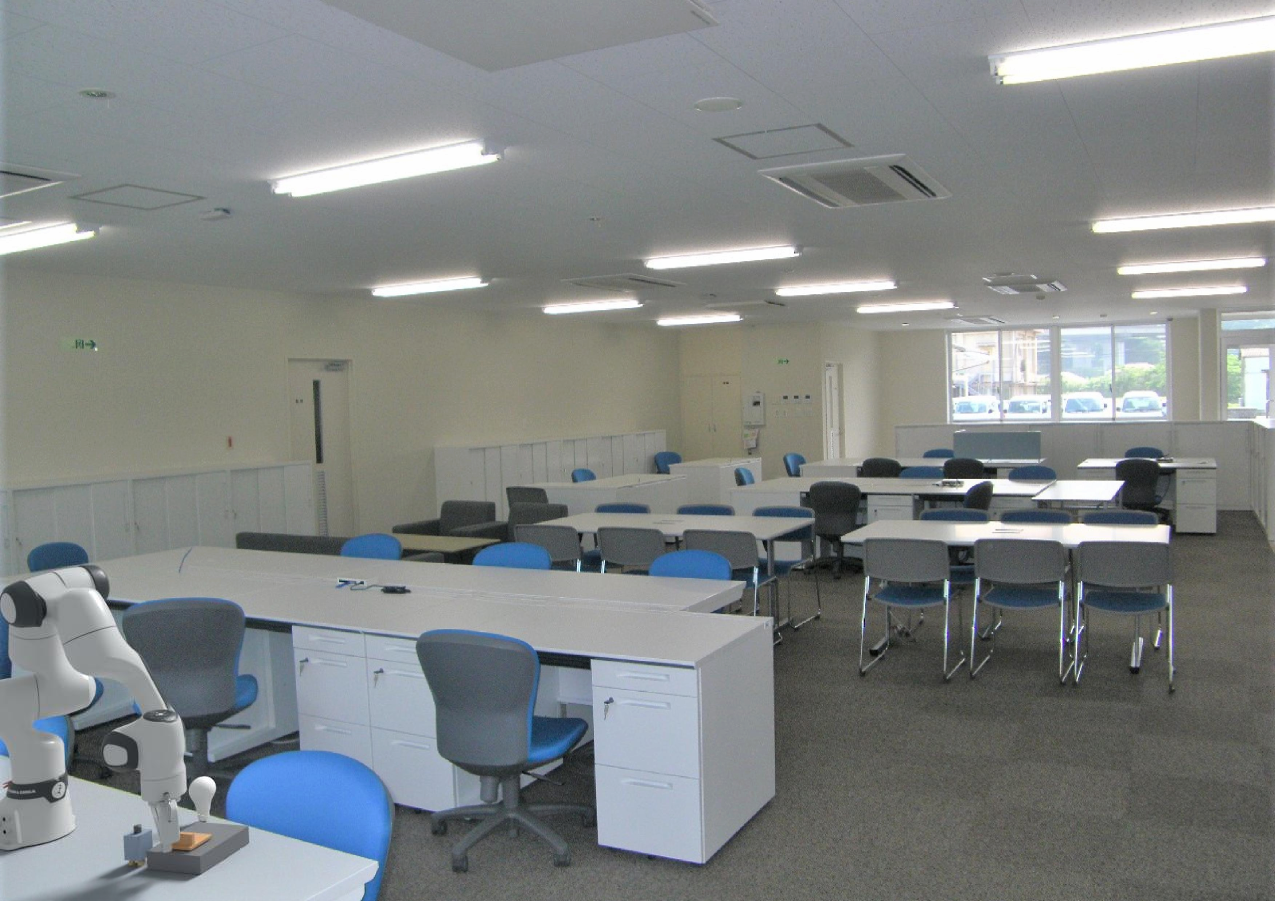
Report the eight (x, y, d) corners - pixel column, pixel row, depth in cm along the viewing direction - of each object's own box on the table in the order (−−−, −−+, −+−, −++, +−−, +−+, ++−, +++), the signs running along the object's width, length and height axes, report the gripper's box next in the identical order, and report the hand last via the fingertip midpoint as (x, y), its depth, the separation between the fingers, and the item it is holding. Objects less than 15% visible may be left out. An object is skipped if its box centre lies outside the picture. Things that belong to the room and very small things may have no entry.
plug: (124, 866, 211) (123, 828, 210) (138, 858, 215) (136, 821, 214) (139, 868, 210) (137, 830, 209) (153, 860, 213) (151, 822, 213)
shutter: (165, 848, 209) (164, 834, 209) (188, 834, 216) (187, 821, 216) (190, 850, 208) (189, 836, 208) (212, 837, 215) (212, 823, 214)
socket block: (147, 869, 209) (146, 851, 209) (198, 838, 225) (197, 821, 224) (200, 874, 205) (200, 856, 205) (249, 843, 221) (248, 825, 221)
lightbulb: (206, 826, 231) (204, 782, 231) (184, 825, 232) (182, 781, 232) (222, 816, 237) (220, 773, 237) (200, 815, 238) (199, 772, 238)
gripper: (185, 797, 198) (188, 863, 198) (174, 770, 216) (177, 830, 216) (152, 805, 195) (155, 871, 195) (143, 776, 212) (146, 837, 212)
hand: (166, 849), depth 206 cm, fingers closed
